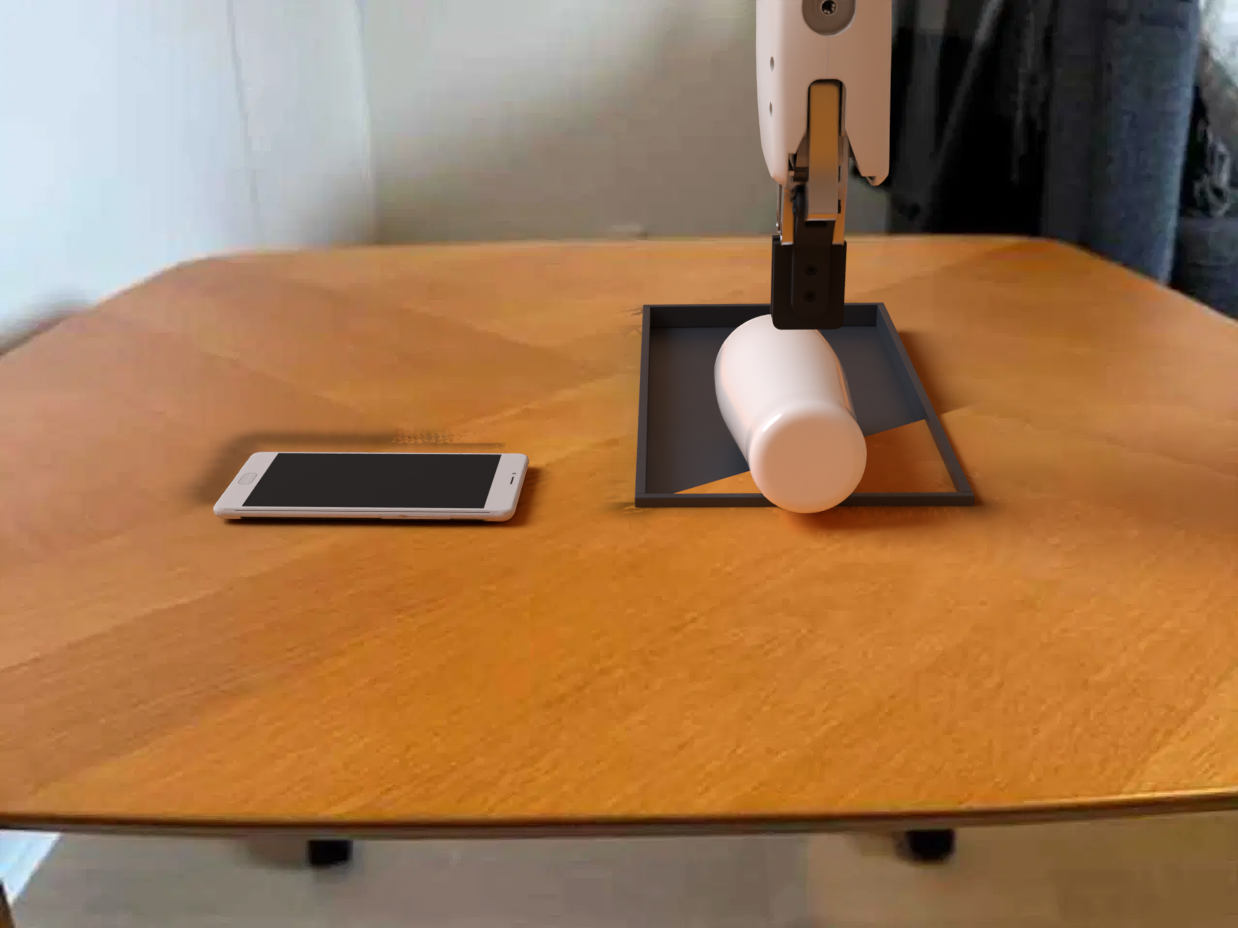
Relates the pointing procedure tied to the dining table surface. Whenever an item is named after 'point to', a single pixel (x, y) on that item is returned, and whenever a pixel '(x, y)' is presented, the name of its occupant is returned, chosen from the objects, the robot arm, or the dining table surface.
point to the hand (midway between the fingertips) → (806, 323)
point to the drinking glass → (790, 415)
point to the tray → (697, 435)
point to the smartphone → (375, 486)
